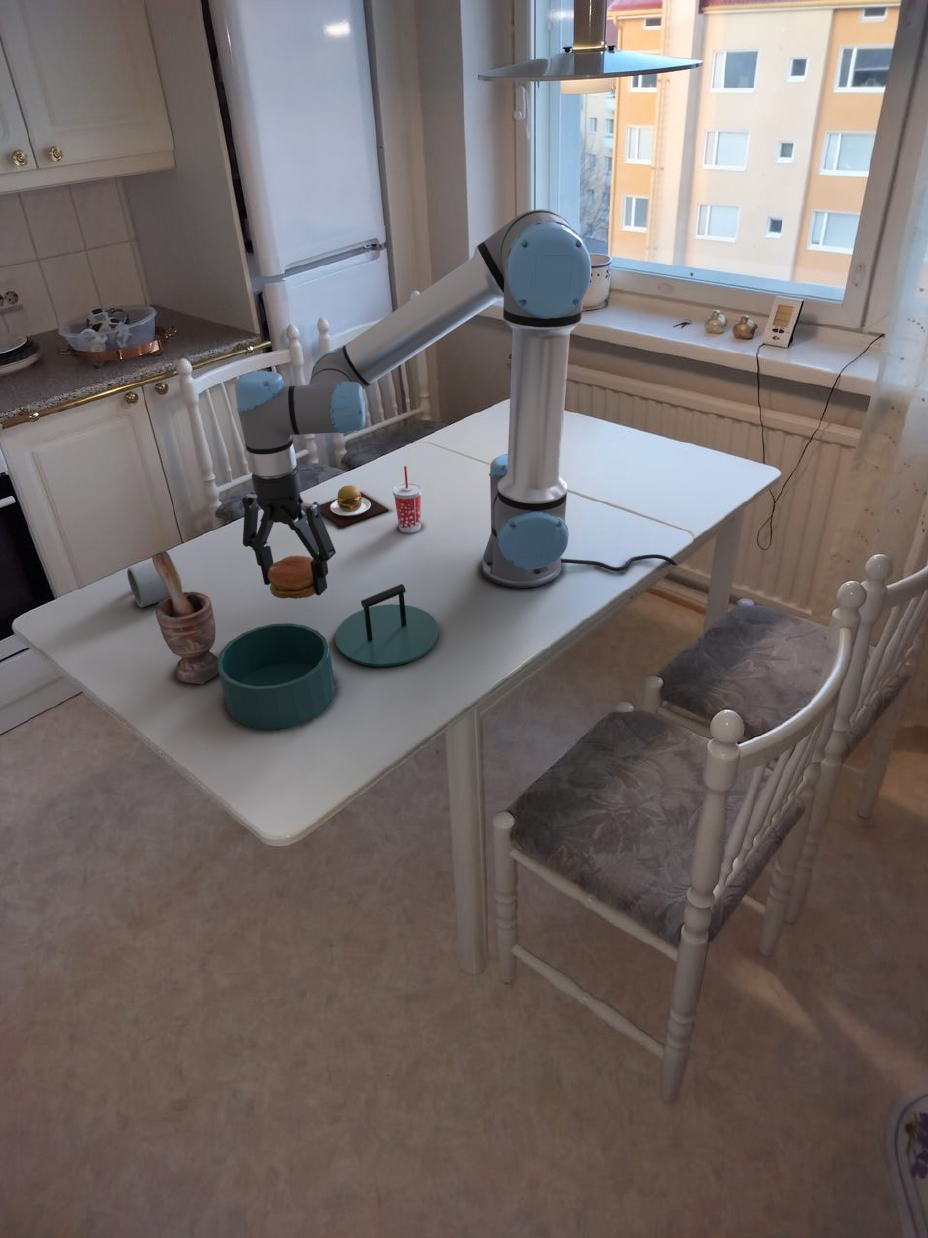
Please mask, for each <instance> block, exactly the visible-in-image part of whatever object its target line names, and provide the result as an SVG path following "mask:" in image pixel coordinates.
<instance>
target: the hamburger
mask: <svg viewBox="0 0 928 1238" xmlns="http://www.w3.org/2000/svg"><path fill="white" fill-rule="evenodd" d="M319 505H320V515H321V516H323V517H325V518H326V519H327V520H330V522H332V523H333V524H335V525H336V526H338V527H339V528H341V529H344V528H347V527H350V526H351V525H355V524H357V523H360V522H363V521H366V520H368V519H371V518H373V517H376V516H379V515H382V514H384V513H388V512H389V508H388V507H386V506H384V505H383V504H381V503H379V502H377V501H376V500H374V499H372V498H371V497H369V496H368V495H366V494H364V493H363V492H361V490H360V489H359V488H358V487H357V486H355V485H352V484H351V485H350V484H348V485H344V486H342V487H340V489H339V490H338V491H337V498H336V499H333V500H331V501H327V502H324V503H322V504H319Z"/></svg>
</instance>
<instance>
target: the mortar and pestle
mask: <svg viewBox="0 0 928 1238" xmlns="http://www.w3.org/2000/svg"><path fill="white" fill-rule="evenodd" d="M151 560H152V562H153V564H154V566H155V568H156V570H157V572H158V574H159V576H160V578H161V580H162V581H163V583H164V585H165V587H166V589H167V591H168V593H169V595H170V596H169V597H167V598H165V599H163V600H162V601H160V602H157V605H156V606H155V608H154V614H155V616H156V620H157V623H158V625H159V628H160V633H161V634H162V638H163V640H164V642H165V644H166V645H167V647H168V648H169V650H170V651H171V652H172V653H173V654H174V655H175V656H178V657H180V659H179V660H178V662H177V665H176V667H175V675H176V677H177V679H178V680H179V681H181V682H182V683H186V684H201V685H203V684H205V683H206V682H208V681H209V680H211V679H213V678H214V677H216V676H217V675H218V674H219V671H218V665H217V660H218V658H219V657H217V656H216V654H214V653H213V652H211V651H210V650H211V649H212V648H213V647H214V645H215V641H216V633H217V631H216V627H217V626H216V619H215V616H214V610H213V604H212V600H211V598H210V597H209V596H208V595H207V594H206V593H203V592H199V591H198V592H197V591H188V592H187V591H184V592H183V588H182V589H181V587H180V585H179V582H178V579H177V576H176V572H175V569H174V565H173V563H174V561H173V560H172V558H171V556H170V554H169V553H168V551H166V550H164V551H160V552H158V553H155V554H154V555H151Z"/></svg>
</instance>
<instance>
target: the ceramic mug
mask: <svg viewBox="0 0 928 1238" xmlns="http://www.w3.org/2000/svg"><path fill="white" fill-rule="evenodd" d="M173 565H174V569H175V572H176V576H177V579H178V582H179V585H180V587H181V589H182V590H183V583H182V580H181V579H182V578H181V575H180V573H179V569H178V567H177V566H176V564H175V563H174V562H173ZM126 574H127V580H128V583H129V586H130V591H131V592H132V595H133V597H134V600H135V601H136V604H137V605H138V606H139V607H140V608H145V607H147V606H148V607H149V606H151V605H154V604H158V603H159V602H161V601H162V600H163V599H165V598H167V597H169V596H170V595H169V593H168V591H167V589H166V587H165V585H164V583H163V581H162V580H161V578H160V576H159V574H158V572H157V570H156V568H155V566H154V564H153V561H152V562H148V563H142V564H139V565H134V566H129V567H128V568H127V570H126Z"/></svg>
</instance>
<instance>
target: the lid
mask: <svg viewBox="0 0 928 1238" xmlns="http://www.w3.org/2000/svg"><path fill="white" fill-rule="evenodd" d="M406 592H407V591H406V587H405V585H404V584H403V583H400V584H398V585H395V586H393V587H391V588H388V589H386V590H384V591H381V592H378V593H376V594H374V595H371V596H368V597H366V598H364V599H361V600H360V604H361V607H362V608H363V609H361V610H359V611H357V612H355V613H353V614H350V615H349V616H348V617H347V618H345V619H344V620H343V621H342V622H341V623H340V624H339V626H338V627H337V629H336V632H335V637H334V639H335V646H336V648H337V649H338V651H339V653H341V654H342V656H344V657H345V658H346V659H348V660H350V661H352V662H355V663H358V664H361V665H365V666H371V667H392V666H398V665H402V664H406V663H409V662H410V663H411V662H412V661H414V660H418V659H419V658H421V657H423V656H424V655H426V654H428V653H429V652H430V651H431V650H432V649H433V648H434V647H435V645H436V644H437V642H438V639H439V636H440V627H439V624H438V622H437V620H436V619H435V617H434V616H433V615H432V614H430V613H428V612H427V611H425V610H423V609H421V608H419V607H415V606H413V605H412V606H411V605H406V602H405V601H406V600H405V593H406ZM397 596H398V604H397V603H394V604H393V603H392V604H391V603H390V604H380V603H383V602H385V601H387V600H390V599H392V598H395V597H397ZM377 604H379V605H377Z"/></svg>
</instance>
